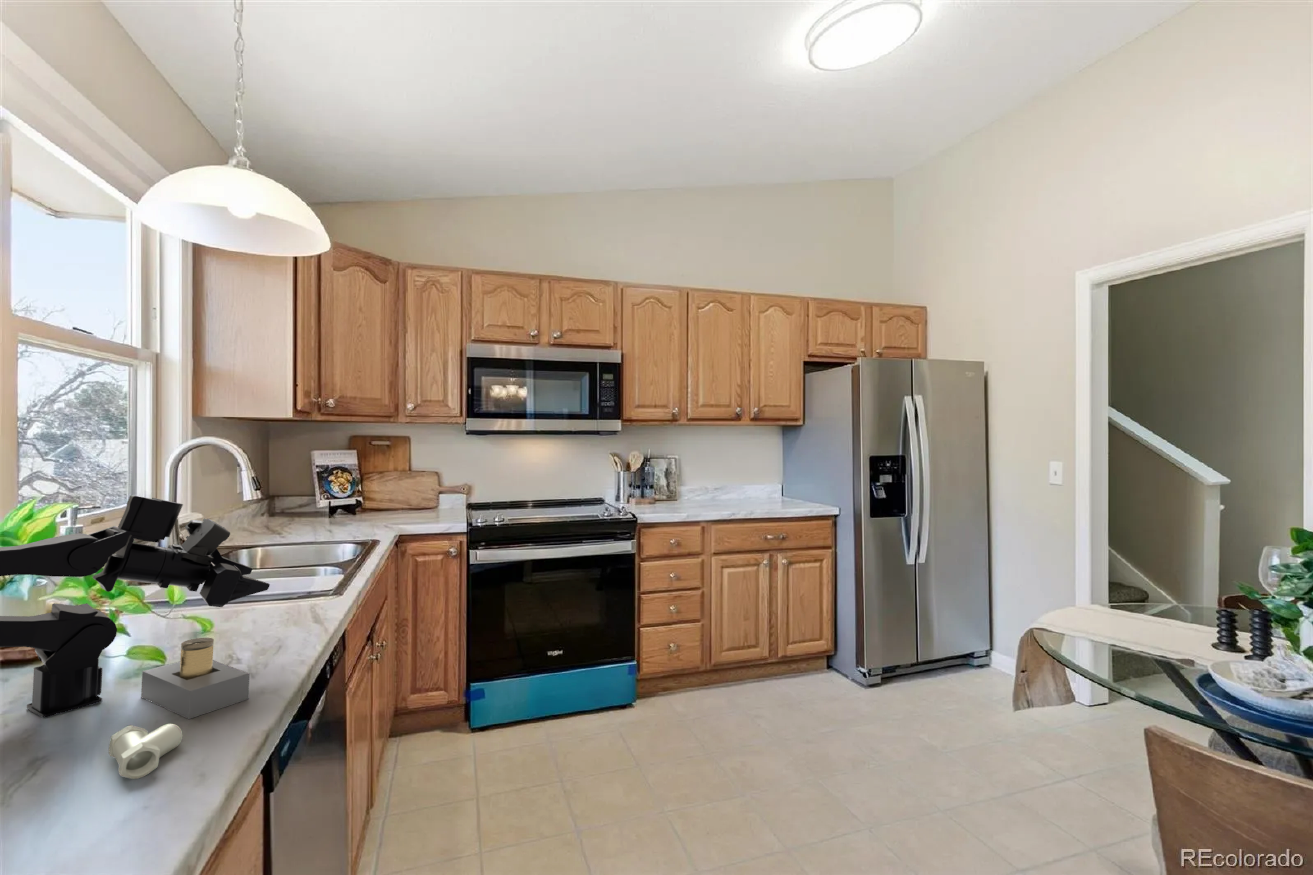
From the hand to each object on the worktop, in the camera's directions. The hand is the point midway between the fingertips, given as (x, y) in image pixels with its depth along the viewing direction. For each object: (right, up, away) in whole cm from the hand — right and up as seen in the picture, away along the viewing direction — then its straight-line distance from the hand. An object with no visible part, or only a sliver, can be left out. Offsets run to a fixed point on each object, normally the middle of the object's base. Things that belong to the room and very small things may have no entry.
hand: (259, 578), depth 108 cm
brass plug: (+1, -15, -16) cm, 22 cm away
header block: (+1, -15, -16) cm, 22 cm away
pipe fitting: (+9, -15, -34) cm, 38 cm away
